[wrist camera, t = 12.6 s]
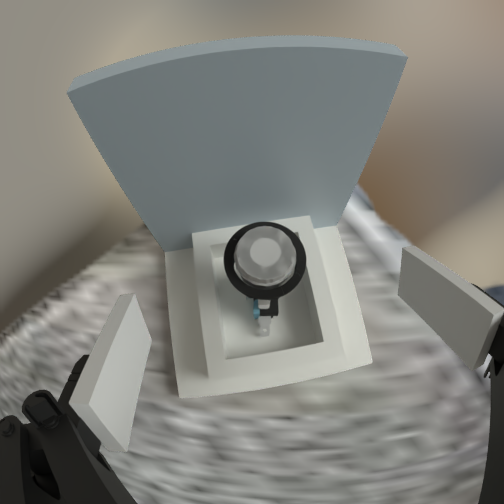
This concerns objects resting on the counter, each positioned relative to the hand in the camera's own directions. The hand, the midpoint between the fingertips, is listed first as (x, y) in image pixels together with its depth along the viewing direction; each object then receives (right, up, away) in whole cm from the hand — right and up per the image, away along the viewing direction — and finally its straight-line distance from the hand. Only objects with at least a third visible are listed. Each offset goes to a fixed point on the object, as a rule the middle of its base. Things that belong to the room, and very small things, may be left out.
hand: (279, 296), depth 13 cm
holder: (0, -3, +15) cm, 15 cm away
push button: (0, -3, +14) cm, 14 cm away
